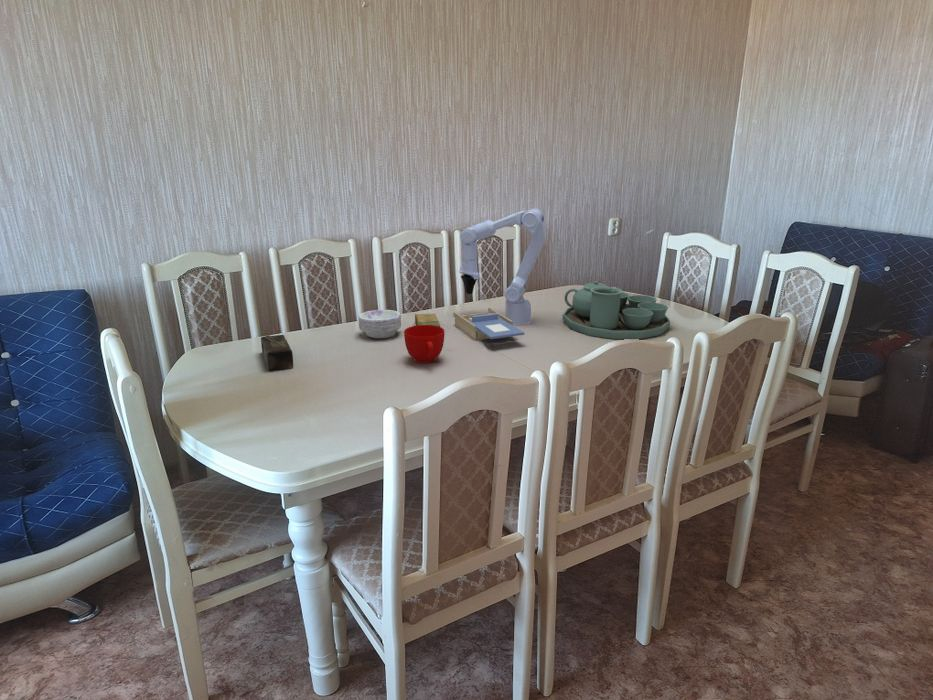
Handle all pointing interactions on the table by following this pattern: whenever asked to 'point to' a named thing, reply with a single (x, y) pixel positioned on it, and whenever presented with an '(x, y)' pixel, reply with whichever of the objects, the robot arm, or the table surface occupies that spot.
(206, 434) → the table surface
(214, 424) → the table surface
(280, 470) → the table surface
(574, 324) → the tea set
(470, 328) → the beige shallow box
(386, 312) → the paper bowls
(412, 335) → the ceramic cup
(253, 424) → the table surface
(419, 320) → the carton
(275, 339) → the dark brown block
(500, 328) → the lid
